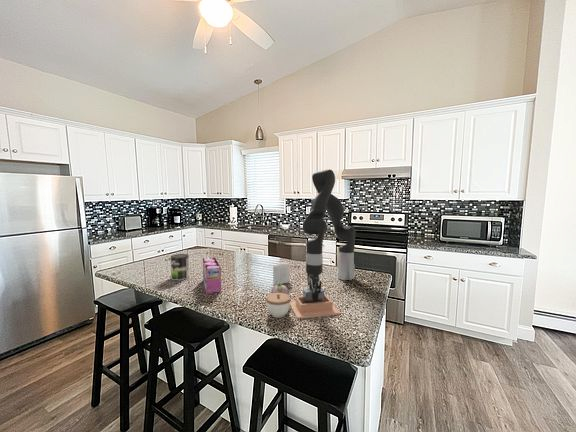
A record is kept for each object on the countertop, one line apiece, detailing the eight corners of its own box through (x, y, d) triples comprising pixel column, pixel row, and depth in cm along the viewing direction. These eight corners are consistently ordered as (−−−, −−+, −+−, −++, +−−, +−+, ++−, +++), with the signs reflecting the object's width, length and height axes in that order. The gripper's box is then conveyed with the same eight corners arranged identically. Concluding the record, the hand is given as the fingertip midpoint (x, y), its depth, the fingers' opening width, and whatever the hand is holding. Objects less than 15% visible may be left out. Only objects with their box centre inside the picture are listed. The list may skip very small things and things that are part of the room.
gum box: (202, 279, 157) (201, 258, 156) (215, 278, 161) (215, 256, 159) (206, 293, 136) (205, 268, 134) (221, 291, 139) (221, 267, 137)
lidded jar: (270, 322, 106) (270, 300, 105) (262, 311, 116) (262, 291, 115) (294, 317, 110) (294, 296, 110) (284, 307, 120) (284, 287, 119)
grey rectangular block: (321, 304, 122) (321, 287, 121) (324, 307, 118) (324, 291, 117) (302, 305, 120) (303, 289, 119) (305, 309, 116) (305, 292, 115)
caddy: (288, 303, 124) (288, 294, 124) (327, 299, 129) (327, 291, 128) (297, 319, 109) (297, 309, 108) (340, 314, 113) (341, 304, 113)
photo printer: (286, 280, 157) (286, 260, 155) (290, 282, 153) (290, 262, 152) (272, 283, 151) (272, 263, 150) (275, 285, 147) (275, 264, 146)
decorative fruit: (291, 306, 121) (291, 285, 120) (274, 308, 119) (274, 287, 118) (285, 298, 130) (285, 279, 129) (269, 300, 128) (269, 280, 127)
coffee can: (180, 281, 154) (179, 258, 152) (167, 279, 157) (166, 256, 156) (192, 276, 163) (192, 254, 162) (180, 274, 167) (179, 253, 166)
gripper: (327, 266, 111) (327, 304, 112) (316, 258, 125) (316, 291, 126) (311, 267, 109) (310, 305, 111) (302, 258, 123) (301, 293, 124)
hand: (313, 298), depth 118 cm, fingers open, 5 cm apart
